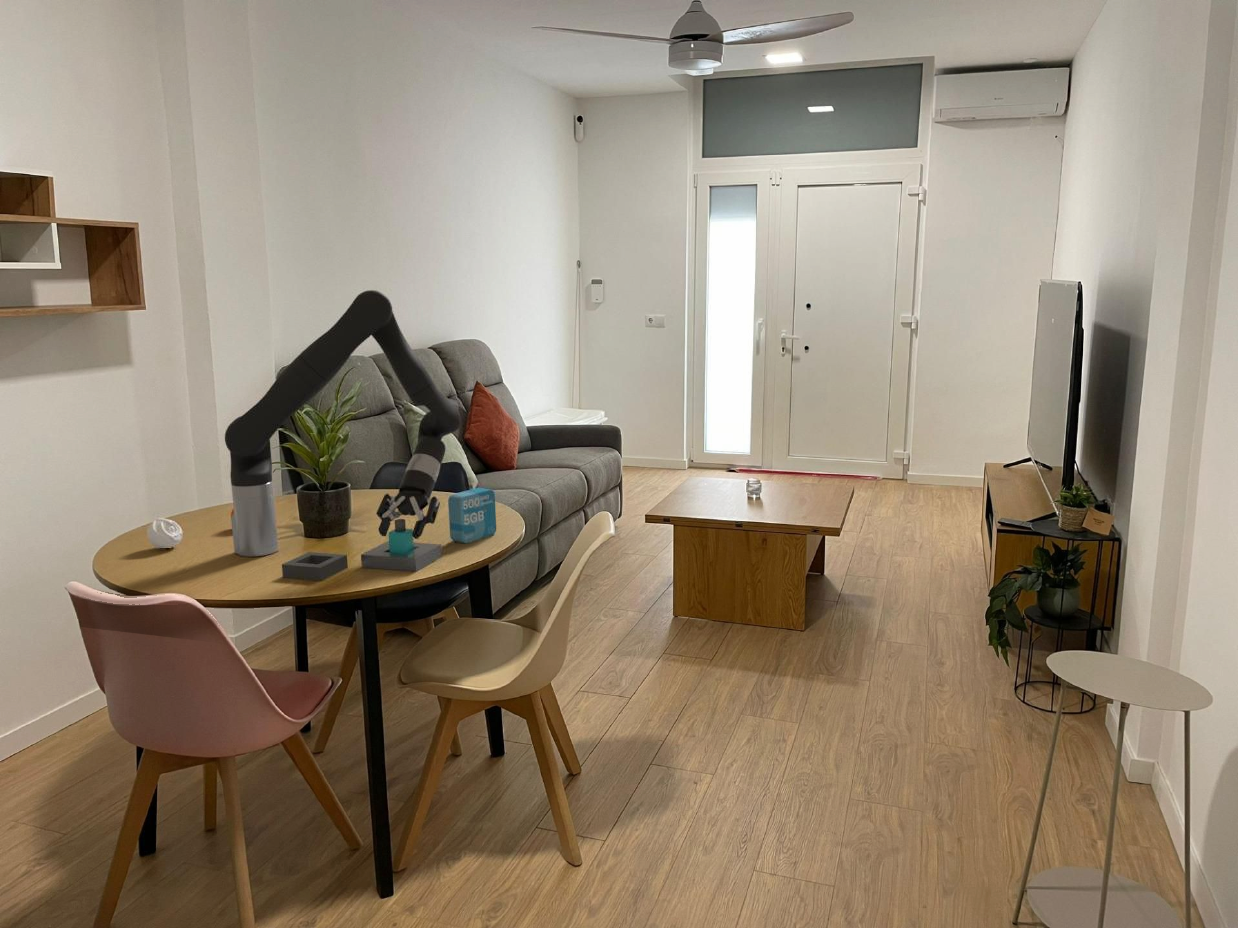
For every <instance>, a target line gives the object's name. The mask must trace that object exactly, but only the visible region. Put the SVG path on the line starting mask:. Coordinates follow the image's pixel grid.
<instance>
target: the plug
mask: <svg viewBox="0 0 1238 928" xmlns="http://www.w3.org/2000/svg"><path fill="white" fill-rule="evenodd" d="M413 529H414V528H407V526H406V519H405V518H396V519H394V529H393V530H391V531H388V532H387V533H388V541H389V550H390V553H401V554H407V553H409V552H411V551H413V550H414V543H415V542H414V537H413V536H412V532H413ZM413 542H414V543H413Z"/></svg>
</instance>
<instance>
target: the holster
mask: <svg viewBox="0 0 1238 928" xmlns="http://www.w3.org/2000/svg"><path fill="white" fill-rule="evenodd" d="M346 569H348V554H339V553H337V554H336V553H329V552H328V553H327V552H315V551H314V552H313V551H308V552H306V553H304V554H302V555H300V556H297V557H295V558H292V559H290V560H288V561H286V562H284V563H282V564H281V572H282V578H284V579H285V577H286V579H295V578H300V579H299V580H306V579H308V581H317V580H320V582H322V581H324V580H326V579H329V578H330V577H332V576H334V575H336V574H339V572H342V571H344V570H346Z"/></svg>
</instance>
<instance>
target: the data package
mask: <svg viewBox="0 0 1238 928" xmlns="http://www.w3.org/2000/svg"><path fill="white" fill-rule="evenodd" d="M447 504H448V505H447V506H448V522H449V536H450V537H449V538H450V540H452V541H453V542H457V543H462V544H469V543H471V542H470V541H472V542H475V540H476V541H479V540H482V539H485V538H487V537H488V536H489V537H491V536H493V535H495V533H496V532H497V514H496V513H497V512H496V495H495V491H494V490H493V489H491V488H483V487H475V488H472V489H468V490H464V491H461V492H456V493H453V494H450V495H449V497H448V500H447ZM481 538H482V539H481ZM468 542H469V543H468Z"/></svg>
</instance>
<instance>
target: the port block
mask: <svg viewBox="0 0 1238 928" xmlns="http://www.w3.org/2000/svg"><path fill="white" fill-rule="evenodd" d="M413 543H414V550H413V551H411V552H409V553H407V554H401V553H390V550H389V540H387V541H386V542H383V543H382V544H379V545H378V546H374V547H373V548H372V549H369V550H367V551H365V552H363V553H361V554H360V561H361V568H367V569H378V570H392V571H405V572H414V573H415V572H418V571H420V570H422V569H423V568H425V567H427V566H429V565H430V564H432V563H434V562H435V561H437V560H439V559H440V558H442V557H441V556H443V555H442V544H441V543H440V544H438V543H427V542H414V541H413ZM438 558H439V559H438ZM433 561H434V562H433Z"/></svg>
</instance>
